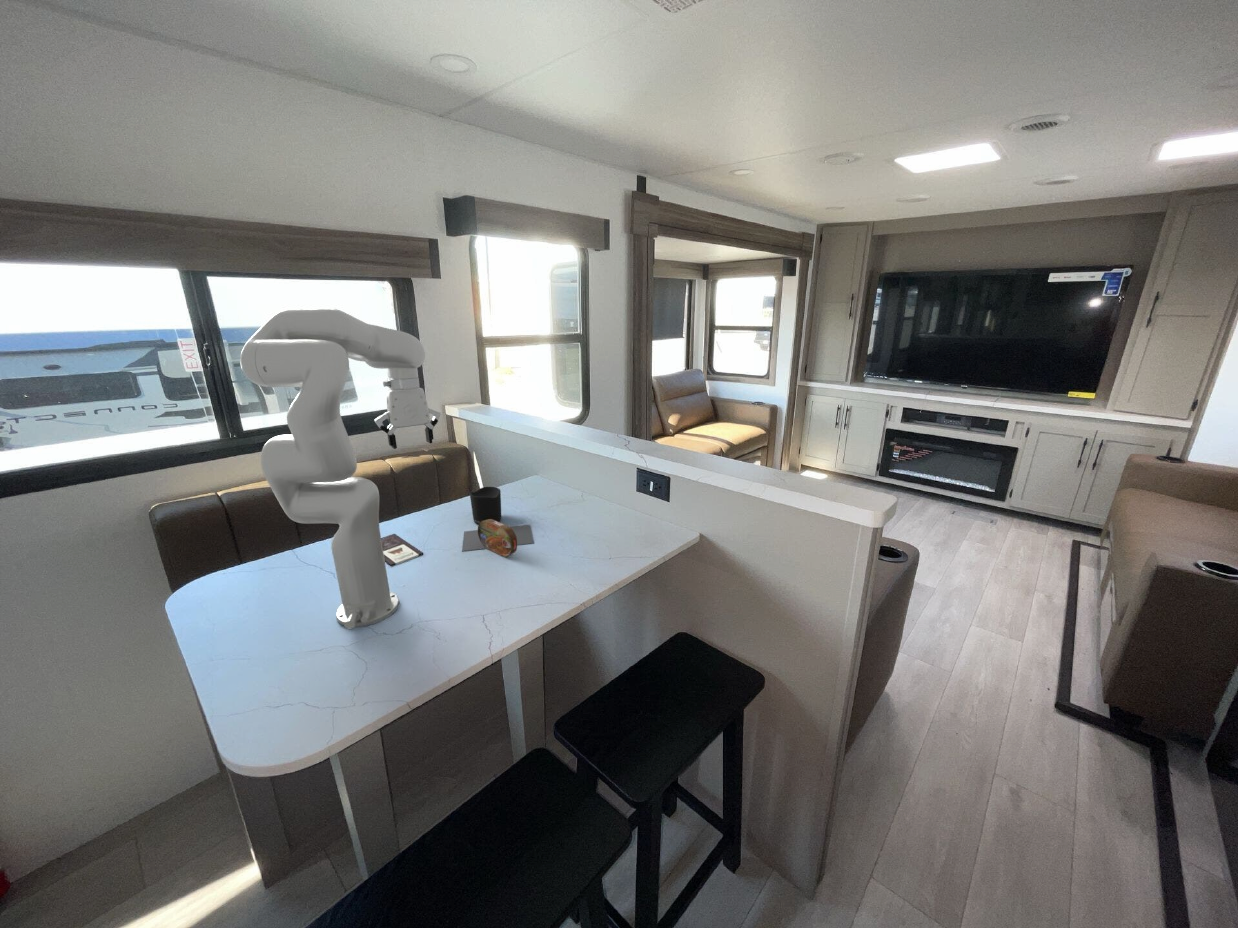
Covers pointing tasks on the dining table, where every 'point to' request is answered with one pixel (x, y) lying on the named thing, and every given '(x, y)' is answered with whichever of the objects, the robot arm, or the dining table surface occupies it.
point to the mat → (474, 543)
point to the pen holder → (486, 504)
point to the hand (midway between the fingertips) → (412, 445)
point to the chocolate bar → (398, 550)
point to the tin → (497, 537)
